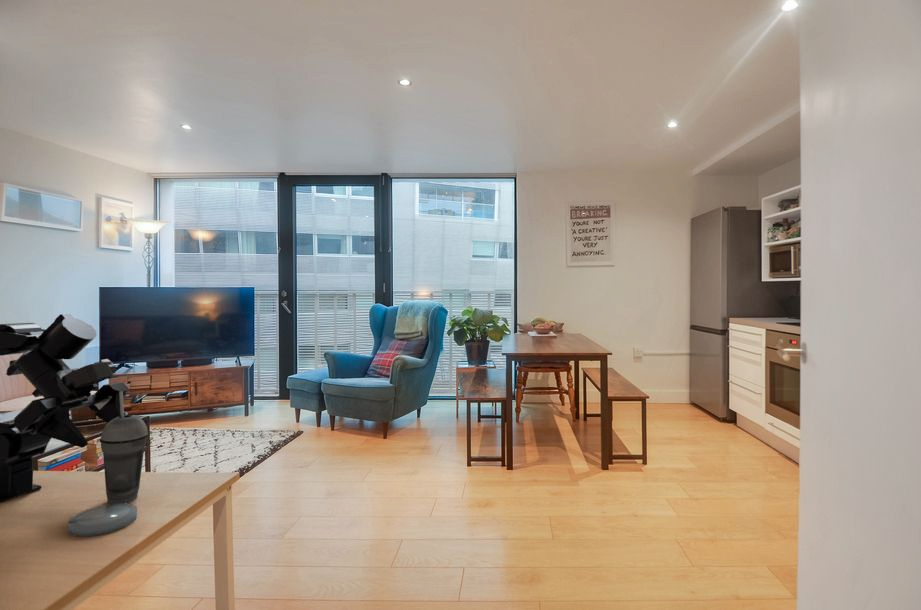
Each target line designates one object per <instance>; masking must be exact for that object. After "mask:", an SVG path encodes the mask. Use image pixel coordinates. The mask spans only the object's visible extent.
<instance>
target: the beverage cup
mask: <svg viewBox="0 0 921 610" xmlns="http://www.w3.org/2000/svg"><path fill="white" fill-rule="evenodd" d="M119 396H120V412H121V416H119V417H116V418H114V419H113V420H111V421H110V422H109V423H106V425H105V426H104V427H103V429H102V432H101V435H100V439H99V443H100V448H101V451H102V454H103V467H104V483H105V495H106V499H107V501H106V502H107V505H108V504H117V503H126V504H129V503H130V501H131V502H133V501H135V500H136V499H137V498H138V496H139V495H138V494H139V489H140V486H141V485H140V483H141V475H142V468H143V461H144V453H145V447H146V445H147V442H148V437H149V432H148V427H147V424H146V422H145V421H144V420H143V419H142V418H140V416H136V415H134V414H125V407H124V406H125V405H124V398H123V391H120V392H119ZM134 499H135V500H134Z"/></svg>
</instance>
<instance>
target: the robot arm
mask: <svg viewBox="0 0 921 610" xmlns="http://www.w3.org/2000/svg"><path fill="white" fill-rule="evenodd" d="M96 337H97V331H96V329H95V328H94V327H93V326H92V324H88V323H86V322H85V321H83V320H81V319H78V318H75V317H74V316H73V315H72V314H70V313H65V314H64V313H63V314H59V315H58V316H57V317H56V318H55V319H54V321H53V322H51V324H50V325H49V326H48V327H47V328H46V329H45V328H44V329H43V328H42V327H41V326H40V325H39V324H38V323H36V322H21V323H20V322H17V323H0V357H1V356H9V355H19V354H20V357H18V358H17V359H16V360H15V359H13V360H10V361H9V365H8V367H7V369H6V373H5V374H6V376H9V377H10V376H11V377H12V376H16V375H22V376H24V377H25V379H26V380H28V382H30V384H31V385H32V386H33V387H34V391H31V394H32V395H33V396H34V398H39V397H42V398H39V399H32V400H31V401H30V403H28V404H27V405H26V406H25V407H24V408H20V409H16V410H12V411H8V412H3V413H1V412H0V503H3V502H5V501H9V500H12V499H14V498H17V497H20V496H24V495H27V494H29V493H32V492H33V493H34V492H35V491H39V490H41V489H42V487H43V486H42V485H39V484H34V483H33V482H34V459H33V457H36V456H38V455H43V454H45V452H46V450H47V447H48V445H49V443H50V441H51V440H52V439H54V440H58V441H60V442H63V443H67V444H70V445H72V446H76V447H78V448H81V449H82V448H85V447H87V446H88V445H89V442H88V441H87V439H86V438H85V436H84V435H83V433H82V432H81V430H80V429H79V428H78V426H76V424H75V423H74V422H73V421H72V419H71V417H70V412H71V411H74V410H79V409H81V408H82V409H83V408H85V407H88V408H89V409H90V410H91V411H93V412H95V414H94V416H96V417H97V418H99V419H100V420H102V421H104V422H105V423H106V424H108V423H109V422H110V421H111V420H113V419H114V418H116V417H119V416H121V412H120V396H119V392H120V391H123V399H124V398H125V397H126V396H127V393H128V392H129V391H130V388H129V387H128V386H127V385H126V384H125V383H124V382H123V381H121V382H120V381H115V382H111V383H107V384H103V385H102V386H101V387H100V388H99V389H98V390H96V389H97V388H98V386H99V385H98V383H101V382H103V381H105V380H109V379H112V378H114V374H116V372H117V366H116V365H115V364H114V363H113V362H112V361H111V360H110V359H109V358H105V359H101V360H99V361H97V362H94V363H90V364H87V365H84V366H82V367H80V368H70V367H69V366H68V364H67V363H66V362H64V360H72V359H74V358H75V357H77V355H78V354H79V353H81V352H82V351H83V349H85V348H86V347H87V346H88V345H89V344H90V343H91V342H92V341H93V340H94V339H95V338H96ZM21 354H22V355H21ZM95 390H96V391H95ZM93 391H95V393H93V394H92V393H91V392H93Z"/></svg>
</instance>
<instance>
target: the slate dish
mask: <svg viewBox="0 0 921 610" xmlns="http://www.w3.org/2000/svg"><path fill="white" fill-rule="evenodd" d="M137 517H138V507H137V506H136V505H134V504H130V503H117V504H108V503H107V504H103V505H100V506H95V507H92V508H89V509H85V510H83V511H81V512H78V513H77V514H75V515H74V516H72V517H71V518H70V519H69V520H68V522H67V533H68V534H69V535H70V534H71V535H70V536H74V537H80V538H86V537H95V536H101V535H105V534H110V533H113V532H116V531H118V530H121V529H124V528H126V527H127V526H129V525H131V524H132V523H133V522H135V521H136V519H137Z"/></svg>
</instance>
